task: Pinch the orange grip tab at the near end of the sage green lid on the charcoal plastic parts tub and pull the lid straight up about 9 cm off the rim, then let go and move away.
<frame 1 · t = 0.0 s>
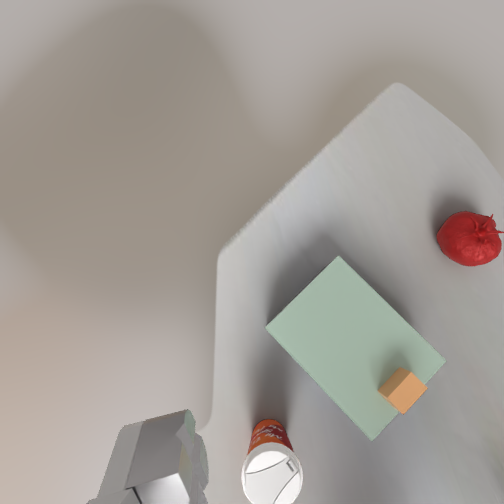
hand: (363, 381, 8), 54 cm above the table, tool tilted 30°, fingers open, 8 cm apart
lid: (357, 345, 50), point 11 cm above the table, slide at 0.0 cm
red tomato: (457, 242, 63), on the table
coffee cup: (268, 436, 58), on the table
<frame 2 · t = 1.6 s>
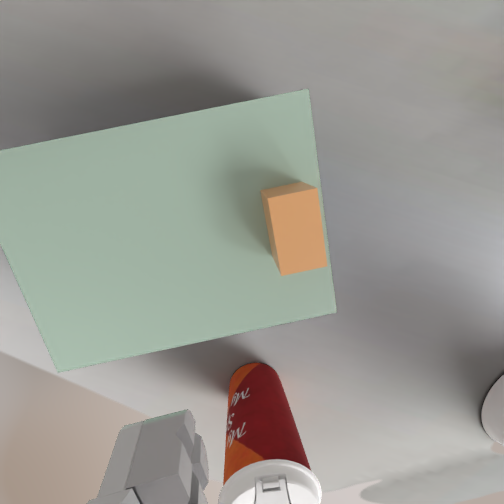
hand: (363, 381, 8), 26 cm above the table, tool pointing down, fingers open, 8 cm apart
lid: (168, 249, 23), point 11 cm above the table, slide at 0.0 cm
coffee cup: (254, 383, 39), on the table
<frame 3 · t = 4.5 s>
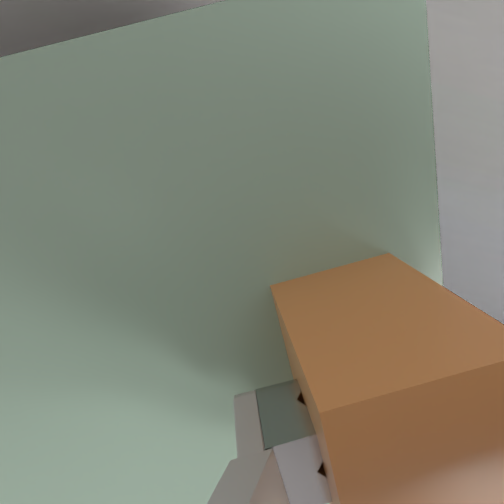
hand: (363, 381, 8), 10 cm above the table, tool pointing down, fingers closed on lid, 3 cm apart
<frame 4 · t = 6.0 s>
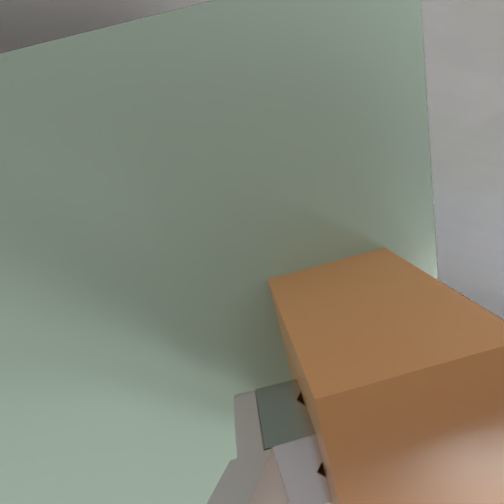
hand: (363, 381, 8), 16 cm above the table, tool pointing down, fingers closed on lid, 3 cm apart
lid: (0, 485, 7), point 16 cm above the table, slide at 5.1 cm, touching gripper
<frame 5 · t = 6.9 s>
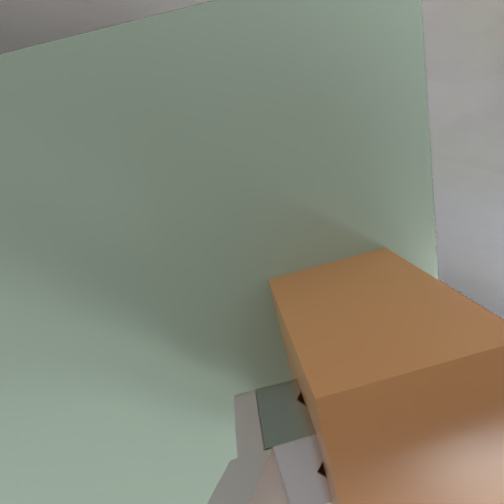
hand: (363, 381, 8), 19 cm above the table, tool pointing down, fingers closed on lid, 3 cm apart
lid: (1, 484, 7), point 19 cm above the table, slide at 8.7 cm, touching gripper
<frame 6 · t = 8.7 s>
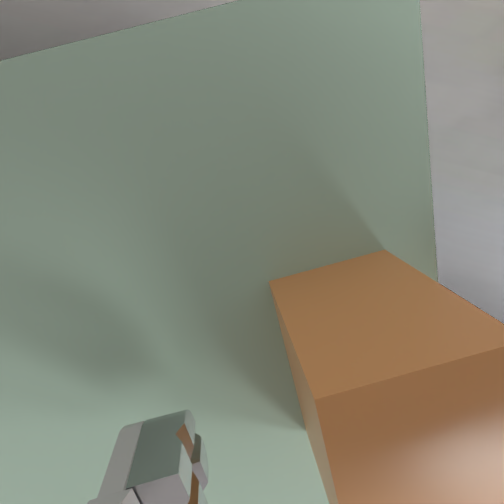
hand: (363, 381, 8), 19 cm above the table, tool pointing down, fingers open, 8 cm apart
lid: (4, 484, 8), point 19 cm above the table, slide at 8.8 cm
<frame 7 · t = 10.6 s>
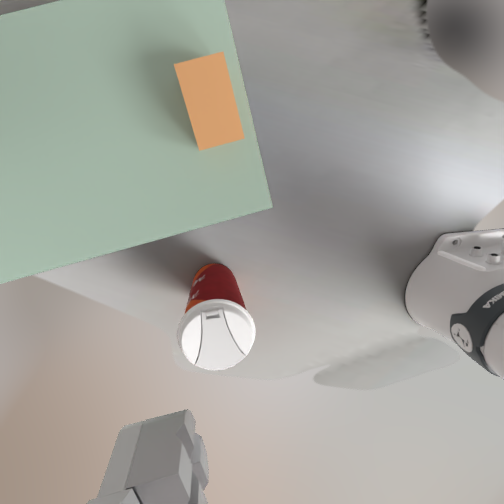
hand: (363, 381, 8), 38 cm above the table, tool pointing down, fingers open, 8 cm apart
lid: (89, 139, 22), point 19 cm above the table, slide at 8.8 cm
coffee cup: (214, 282, 48), on the table
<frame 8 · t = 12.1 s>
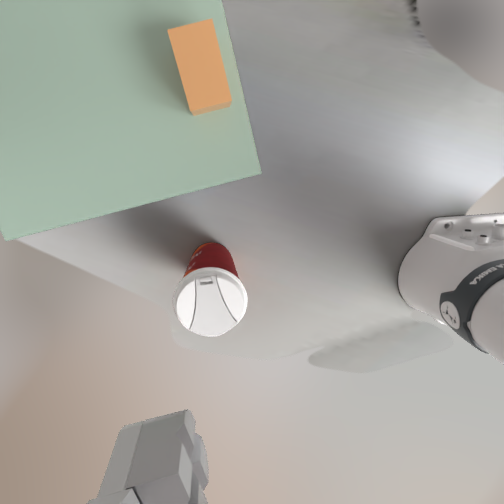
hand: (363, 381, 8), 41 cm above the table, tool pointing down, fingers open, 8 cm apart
lid: (90, 102, 25), point 19 cm above the table, slide at 8.8 cm
coffee cup: (212, 261, 50), on the table
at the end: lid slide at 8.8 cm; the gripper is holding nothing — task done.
